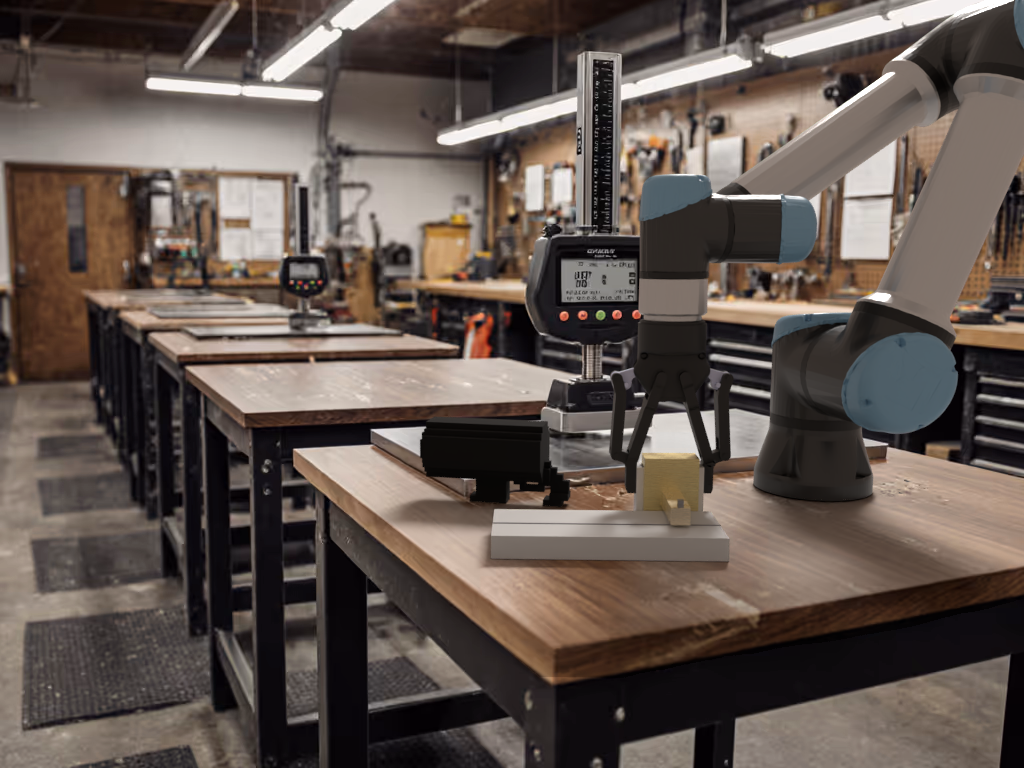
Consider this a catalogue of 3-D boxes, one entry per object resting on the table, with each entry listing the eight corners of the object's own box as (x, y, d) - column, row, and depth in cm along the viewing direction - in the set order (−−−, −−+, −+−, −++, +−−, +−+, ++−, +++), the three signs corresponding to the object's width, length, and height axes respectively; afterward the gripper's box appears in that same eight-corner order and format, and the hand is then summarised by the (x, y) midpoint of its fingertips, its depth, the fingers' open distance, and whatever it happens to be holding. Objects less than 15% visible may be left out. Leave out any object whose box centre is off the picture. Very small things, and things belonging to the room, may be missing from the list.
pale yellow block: (692, 521, 109) (694, 453, 108) (709, 548, 99) (711, 473, 98) (640, 521, 109) (641, 452, 108) (651, 548, 99) (652, 473, 98)
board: (709, 532, 105) (710, 510, 105) (728, 561, 96) (729, 537, 95) (494, 530, 106) (494, 508, 106) (490, 558, 96) (490, 535, 96)
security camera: (565, 512, 113) (566, 430, 112) (416, 503, 117) (416, 423, 116) (572, 497, 120) (574, 420, 119) (432, 489, 124) (432, 414, 122)
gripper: (750, 315, 108) (743, 512, 112) (584, 315, 109) (582, 511, 112) (767, 320, 101) (759, 530, 104) (588, 320, 101) (586, 529, 104)
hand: (667, 520), depth 108 cm, fingers closed on pale yellow block, 6 cm apart
